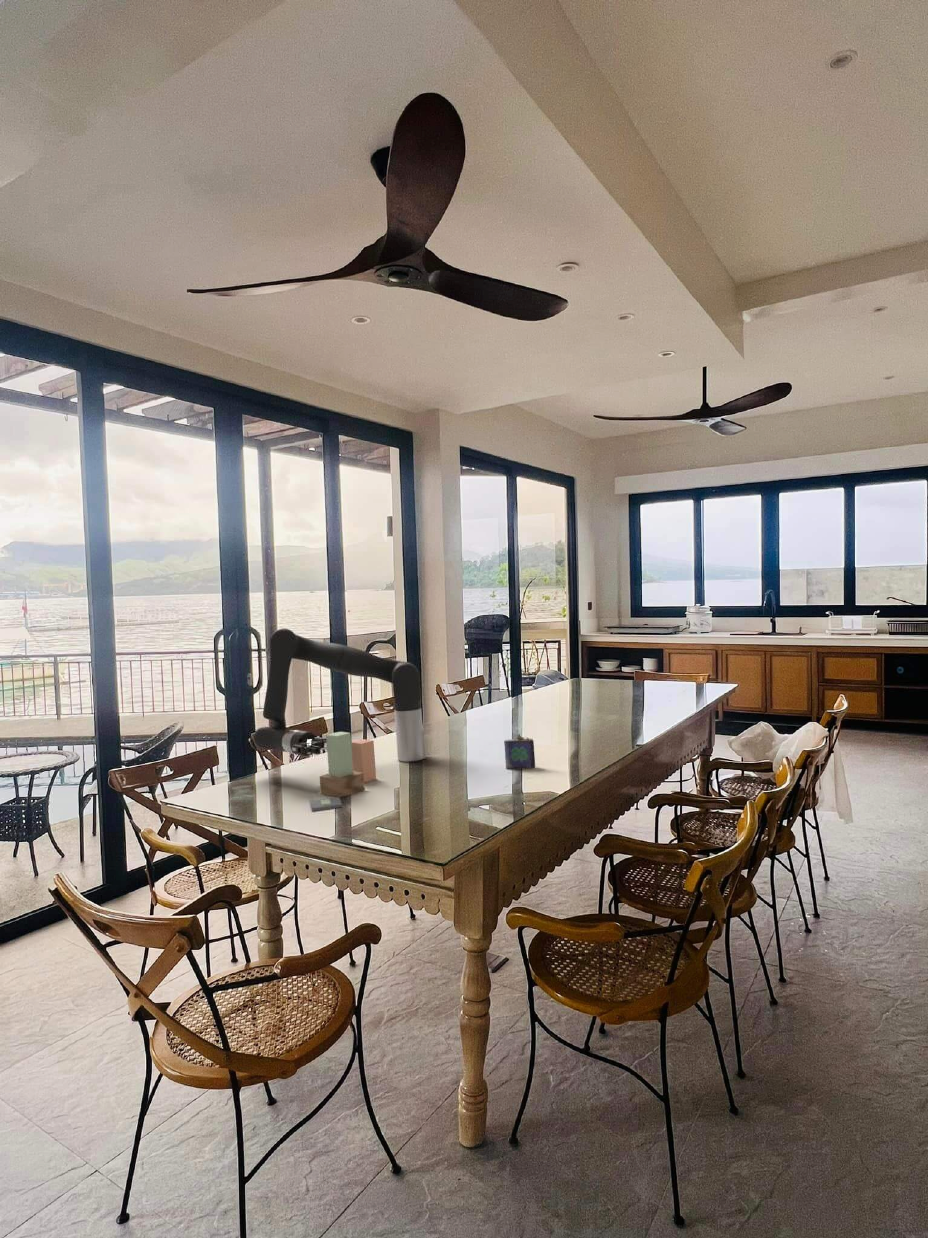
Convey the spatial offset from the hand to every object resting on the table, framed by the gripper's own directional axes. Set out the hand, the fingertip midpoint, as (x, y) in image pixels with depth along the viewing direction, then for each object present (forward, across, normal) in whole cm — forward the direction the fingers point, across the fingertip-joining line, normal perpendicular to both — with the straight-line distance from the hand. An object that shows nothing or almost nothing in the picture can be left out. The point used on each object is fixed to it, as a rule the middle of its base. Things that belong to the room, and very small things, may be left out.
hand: (331, 747), depth 211 cm
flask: (+34, +46, +13) cm, 59 cm away
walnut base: (+4, 0, +13) cm, 13 cm away
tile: (+11, -11, +13) cm, 20 cm away
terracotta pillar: (0, +12, +13) cm, 17 cm away
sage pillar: (+4, 0, +8) cm, 8 cm away
